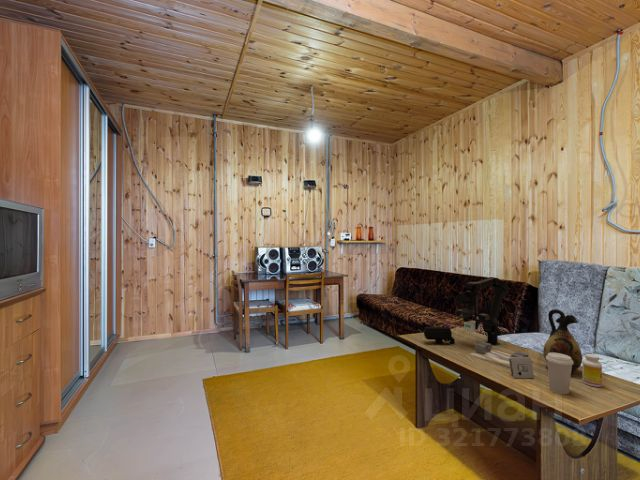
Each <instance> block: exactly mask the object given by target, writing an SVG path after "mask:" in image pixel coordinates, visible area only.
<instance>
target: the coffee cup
mask: <svg viewBox="0 0 640 480" xmlns="http://www.w3.org/2000/svg"><path fill="white" fill-rule="evenodd" d="M546 359H547V361H546V362H547V363H546V364H547V365H546V366H547V374H548V381H549V390H550V391H552V392H553V391H554V393H556V394H559V393H560V394H559V395H568V394H569V393H570V387H571V377H572V375H571V370H572V365H573V364H574V363H573V361H572V359H571V357H570V356H567V355H564V354H560V353H548V355H547V356H546Z"/></svg>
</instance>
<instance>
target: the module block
mask: <svg viewBox="0 0 640 480" xmlns="http://www.w3.org/2000/svg"><path fill="white" fill-rule="evenodd" d="M463 323H464V324H463V325H464V327H463V328H464V329H463V330H464V331H466V332H470V333H474V332H479V331H480V330H481V327H480V326H481V324H480V325H479V327H478V329H477V330H476V329H475V324H476V321H475V320H469V321H467V322H465V321H463Z"/></svg>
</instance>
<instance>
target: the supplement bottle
mask: <svg viewBox="0 0 640 480" xmlns="http://www.w3.org/2000/svg"><path fill="white" fill-rule="evenodd" d="M584 357H585V359H582V364H581V366H582V370H581V371H582V372H581V373H582V377H581V378H582V383H584V384H585V385H587V386H589V387H595V388H600V387H602V386H603V385H602V384H603V365H602V363H601V362H600V361H599V360H600V357H599V356H598V355H595V354H591V353H586V354H585V355H584Z"/></svg>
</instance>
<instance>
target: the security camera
mask: <svg viewBox="0 0 640 480" xmlns="http://www.w3.org/2000/svg"><path fill="white" fill-rule="evenodd" d="M452 333H453V332H452V329H451V328H450V327H448V326H425V327H424V329H423V335H424V338H425V339H426V340H428V341H429V340H431V341H432V340H434V341H433V344H434V345H443V343H444V342H448V344H449V345H455V343H456V340H455V338H454V337H453V336H452ZM443 341H444V342H443Z"/></svg>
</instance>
